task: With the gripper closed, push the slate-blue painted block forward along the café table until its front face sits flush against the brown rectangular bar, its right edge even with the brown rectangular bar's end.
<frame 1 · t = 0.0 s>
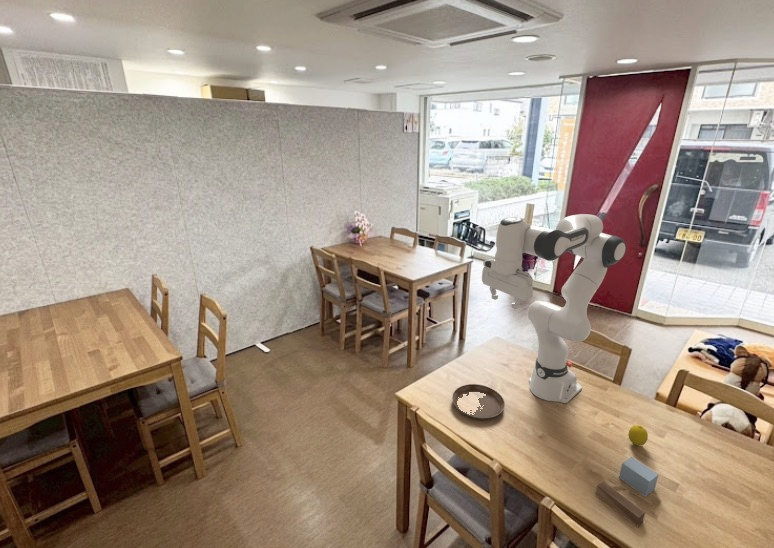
hand: (504, 303, 132), 48 cm above the table, fingers open, 8 cm apart
plant saucer: (477, 406, 154), on the table
block: (636, 483, 118), on the table
lemon: (635, 445, 132), on the table
brown rectangular bar: (618, 507, 110), on the table
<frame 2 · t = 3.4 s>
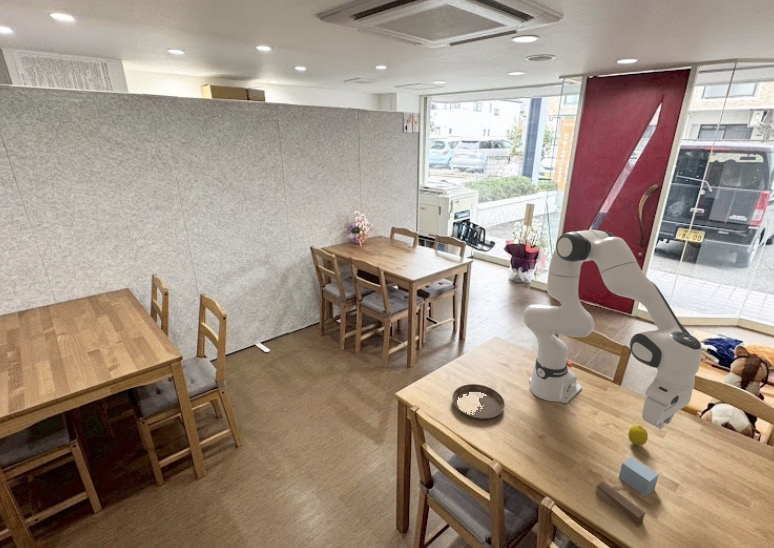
hand: (662, 424, 115), 19 cm above the table, fingers open, 3 cm apart
nothing on the table moved.
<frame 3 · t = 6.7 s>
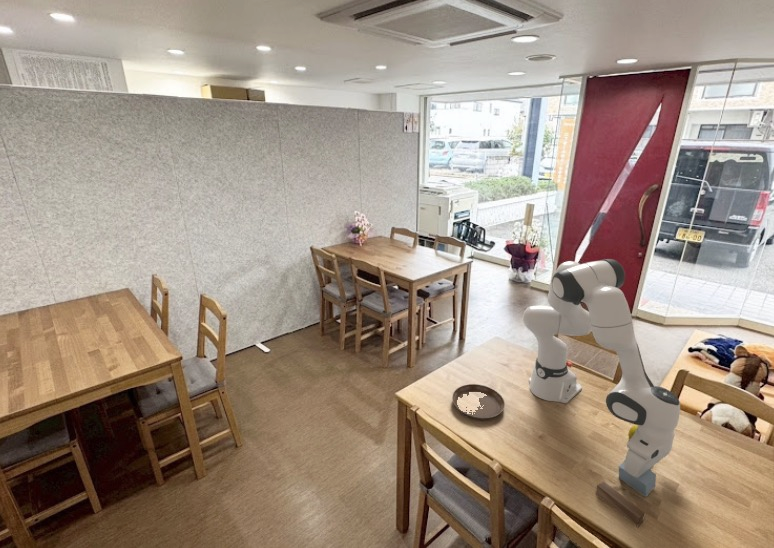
hand: (644, 473, 118), 2 cm above the table, fingers closed
block: (636, 482, 117), point 1 cm above the table, tilted 18°, touching gripper
everything else where it was.
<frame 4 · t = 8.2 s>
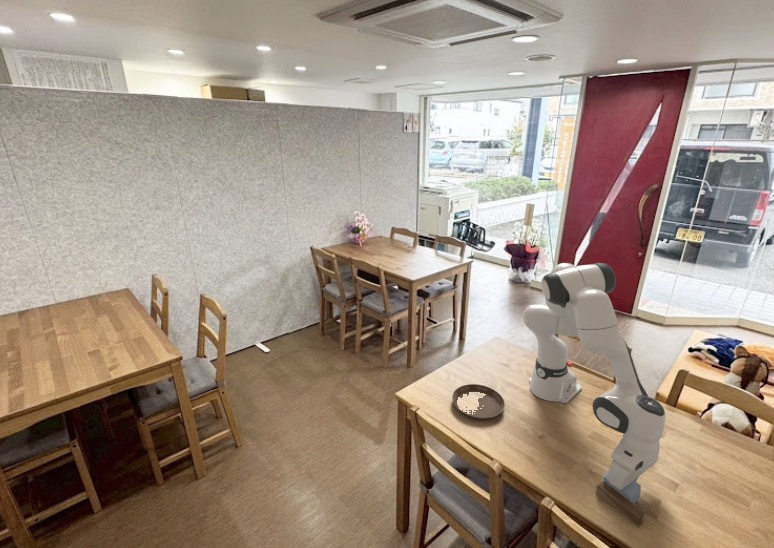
hand: (629, 484, 115), 2 cm above the table, fingers closed
block: (621, 492, 114), point 1 cm above the table, tilted 17°, touching brown rectangular bar, gripper
everything else where it was.
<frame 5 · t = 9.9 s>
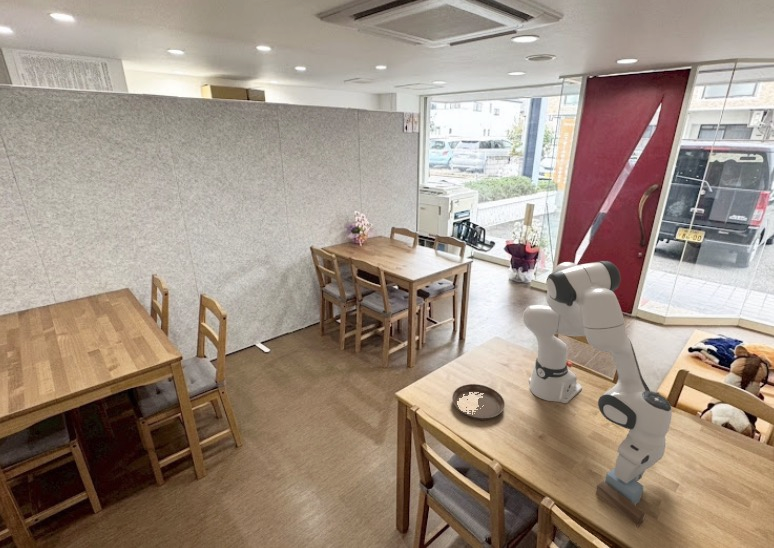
hand: (635, 478, 117), 2 cm above the table, fingers closed
block: (621, 494, 114), on the table
everything else where it was.
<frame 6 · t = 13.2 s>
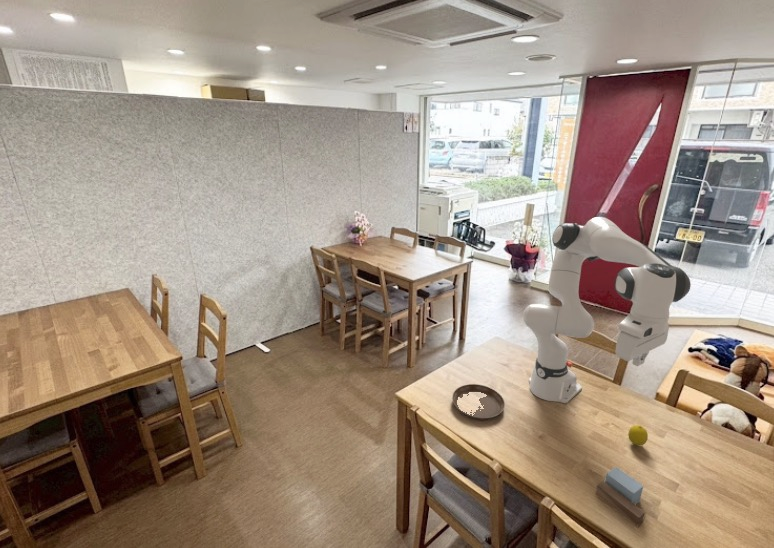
hand: (637, 364, 110), 39 cm above the table, fingers closed
nothing on the table moved.
at the end: block 0.1 cm from the target spot on the table beside the brown rectangular bar, on the table; block tilted 0°; block moved 8.0 cm from its start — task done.
